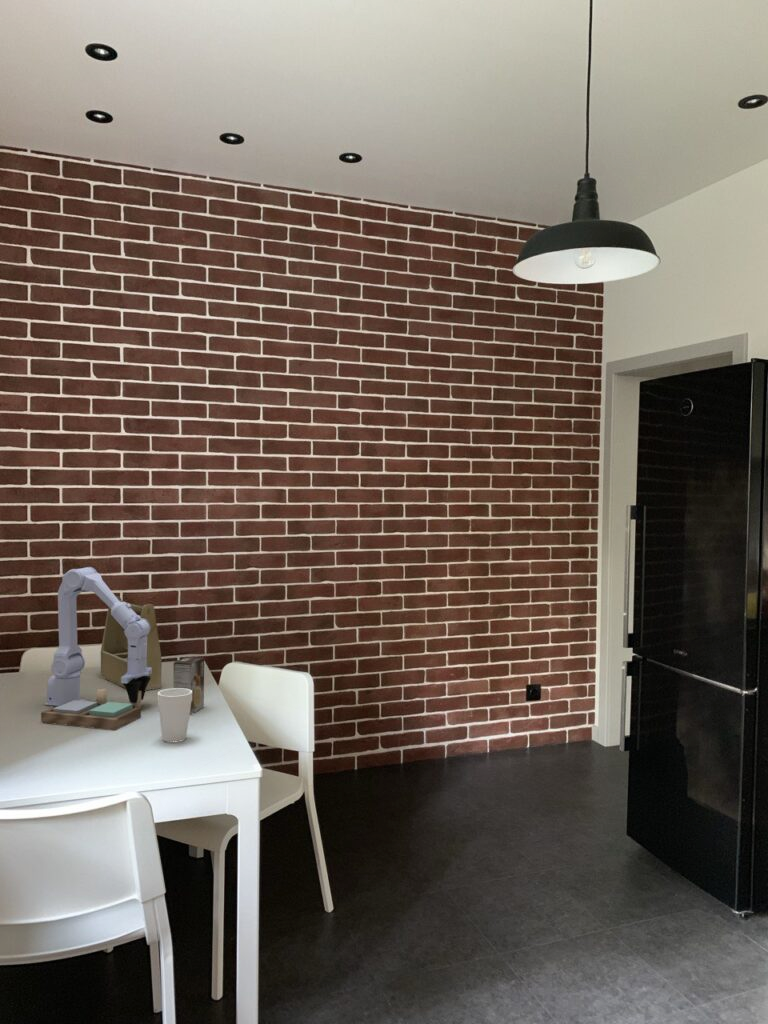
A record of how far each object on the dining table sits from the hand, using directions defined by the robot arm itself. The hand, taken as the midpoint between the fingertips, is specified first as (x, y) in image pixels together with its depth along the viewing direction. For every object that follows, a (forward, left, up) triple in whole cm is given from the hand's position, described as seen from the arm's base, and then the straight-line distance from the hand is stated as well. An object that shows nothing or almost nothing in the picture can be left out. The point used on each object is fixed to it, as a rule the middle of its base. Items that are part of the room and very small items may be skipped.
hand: (136, 701), depth 237 cm
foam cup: (+26, -23, -3) cm, 35 cm away
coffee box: (+16, +4, -3) cm, 17 cm away
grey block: (-12, -9, -3) cm, 15 cm away
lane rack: (-6, -14, -2) cm, 15 cm away
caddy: (-21, +30, -3) cm, 36 cm away
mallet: (0, -8, -2) cm, 9 cm away
